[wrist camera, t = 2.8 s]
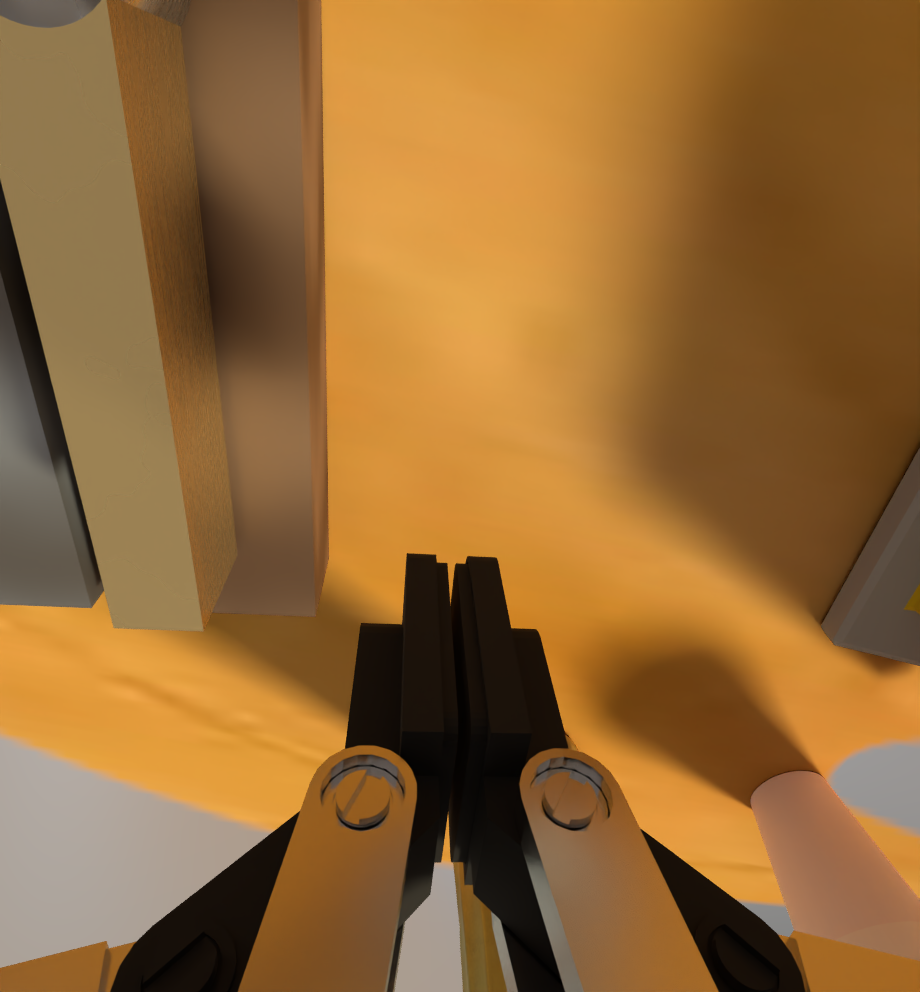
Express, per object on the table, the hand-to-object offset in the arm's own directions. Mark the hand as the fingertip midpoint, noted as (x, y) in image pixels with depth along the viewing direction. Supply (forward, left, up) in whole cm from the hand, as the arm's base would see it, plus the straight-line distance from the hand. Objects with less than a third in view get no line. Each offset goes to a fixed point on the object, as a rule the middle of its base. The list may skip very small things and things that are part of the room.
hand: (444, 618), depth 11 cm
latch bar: (-4, -6, -5) cm, 9 cm away
